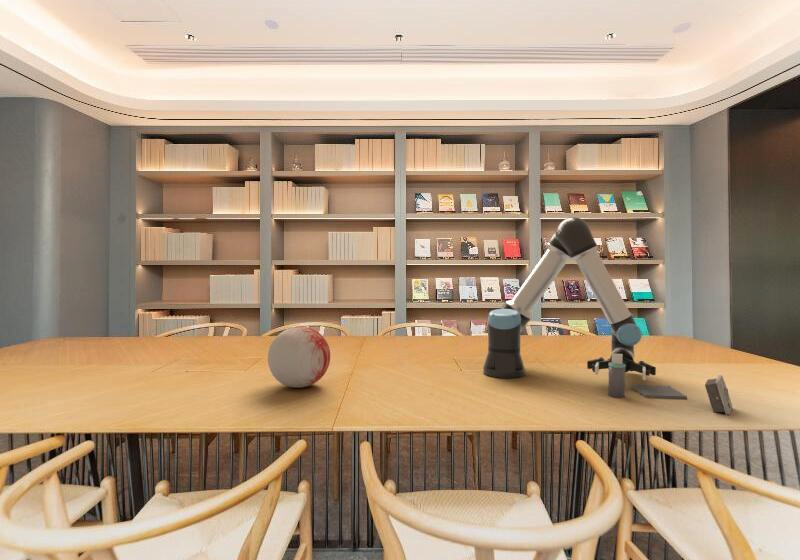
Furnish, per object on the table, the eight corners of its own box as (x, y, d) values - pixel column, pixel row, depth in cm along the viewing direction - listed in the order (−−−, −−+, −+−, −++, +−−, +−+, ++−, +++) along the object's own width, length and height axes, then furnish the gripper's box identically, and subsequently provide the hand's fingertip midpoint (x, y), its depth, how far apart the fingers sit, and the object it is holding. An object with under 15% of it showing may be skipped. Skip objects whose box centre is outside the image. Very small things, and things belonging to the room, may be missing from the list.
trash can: (607, 396, 145) (608, 354, 144) (608, 392, 149) (609, 352, 149) (624, 398, 143) (625, 356, 142) (625, 394, 147) (626, 353, 146)
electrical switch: (729, 416, 127) (726, 381, 127) (707, 414, 130) (704, 380, 130) (732, 407, 134) (729, 375, 134) (710, 406, 137) (707, 374, 137)
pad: (644, 397, 144) (645, 394, 144) (630, 387, 156) (631, 384, 156) (687, 399, 142) (687, 396, 142) (669, 388, 154) (669, 386, 154)
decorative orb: (301, 376, 170) (301, 321, 170) (342, 384, 159) (342, 325, 158) (253, 389, 153) (252, 328, 152) (295, 399, 142) (295, 333, 141)
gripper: (662, 374, 160) (665, 389, 141) (583, 367, 171) (577, 380, 152) (662, 352, 160) (665, 364, 141) (584, 346, 171) (577, 357, 152)
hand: (619, 372), depth 147 cm, fingers open, 13 cm apart
